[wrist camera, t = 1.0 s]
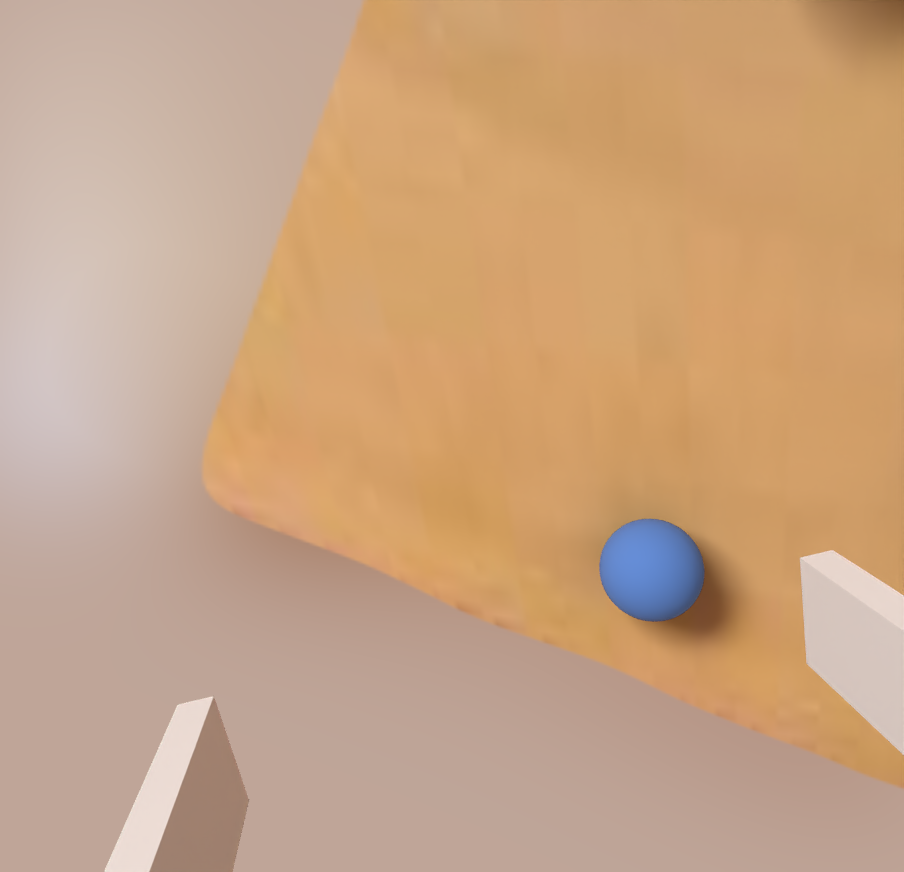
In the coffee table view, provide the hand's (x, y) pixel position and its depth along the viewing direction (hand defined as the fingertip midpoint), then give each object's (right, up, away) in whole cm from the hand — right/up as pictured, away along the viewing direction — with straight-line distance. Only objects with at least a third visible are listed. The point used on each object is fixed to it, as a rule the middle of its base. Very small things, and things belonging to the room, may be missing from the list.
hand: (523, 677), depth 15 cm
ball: (+9, -2, +23) cm, 24 cm away
